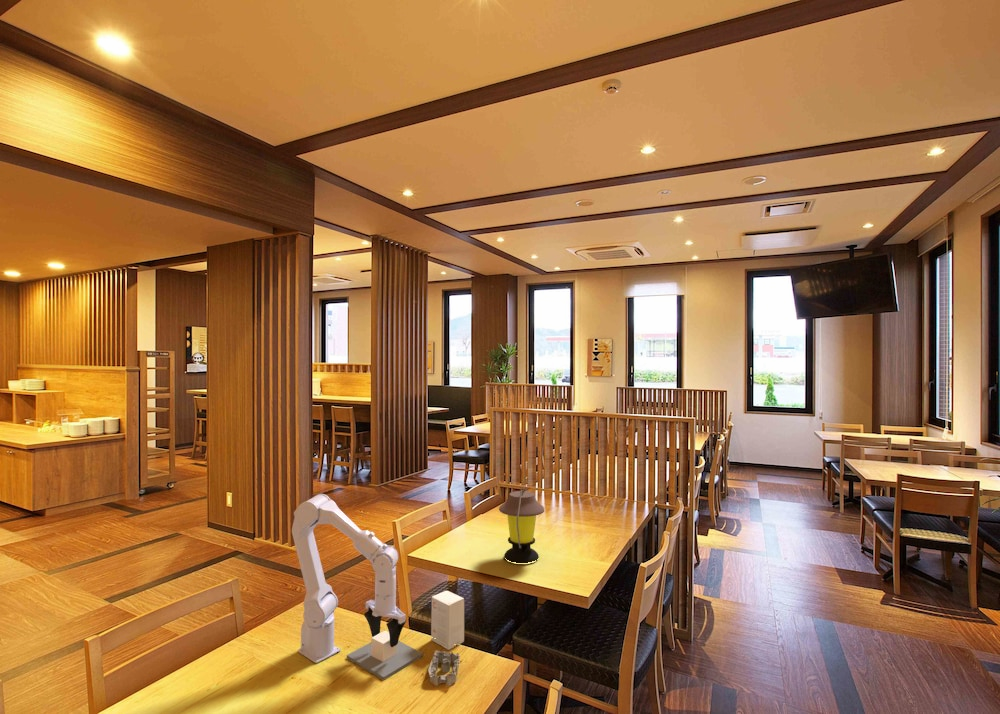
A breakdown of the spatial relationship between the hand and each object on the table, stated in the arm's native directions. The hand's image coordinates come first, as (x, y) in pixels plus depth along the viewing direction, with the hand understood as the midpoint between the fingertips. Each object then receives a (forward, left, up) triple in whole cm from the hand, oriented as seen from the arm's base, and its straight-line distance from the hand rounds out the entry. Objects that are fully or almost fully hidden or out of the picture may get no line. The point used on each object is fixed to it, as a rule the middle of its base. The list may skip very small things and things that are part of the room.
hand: (384, 640), depth 144 cm
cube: (0, 0, -4) cm, 4 cm away
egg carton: (+18, +5, -5) cm, 20 cm away
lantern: (-12, +83, -5) cm, 84 cm away
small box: (+8, +17, -5) cm, 19 cm away
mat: (0, 0, -5) cm, 5 cm away
